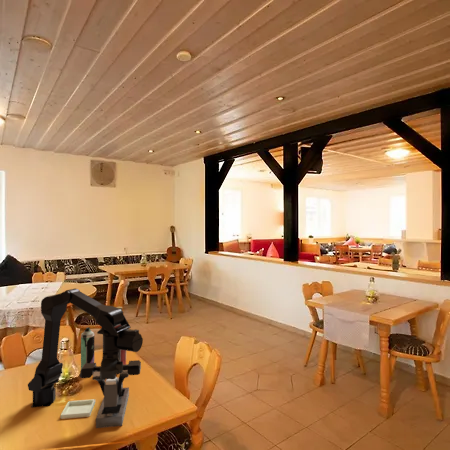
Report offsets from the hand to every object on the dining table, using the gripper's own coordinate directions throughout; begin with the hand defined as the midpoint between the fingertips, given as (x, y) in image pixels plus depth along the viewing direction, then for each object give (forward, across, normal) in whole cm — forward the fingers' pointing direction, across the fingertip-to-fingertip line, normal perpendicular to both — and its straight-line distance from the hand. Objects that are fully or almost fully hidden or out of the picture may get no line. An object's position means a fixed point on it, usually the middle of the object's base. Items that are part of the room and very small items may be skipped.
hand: (111, 394), depth 114 cm
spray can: (+9, -16, +39) cm, 43 cm away
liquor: (+9, -3, +41) cm, 42 cm away
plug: (+3, 0, 0) cm, 3 cm away
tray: (+8, -12, +7) cm, 16 cm away
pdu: (+8, 0, +5) cm, 10 cm away
